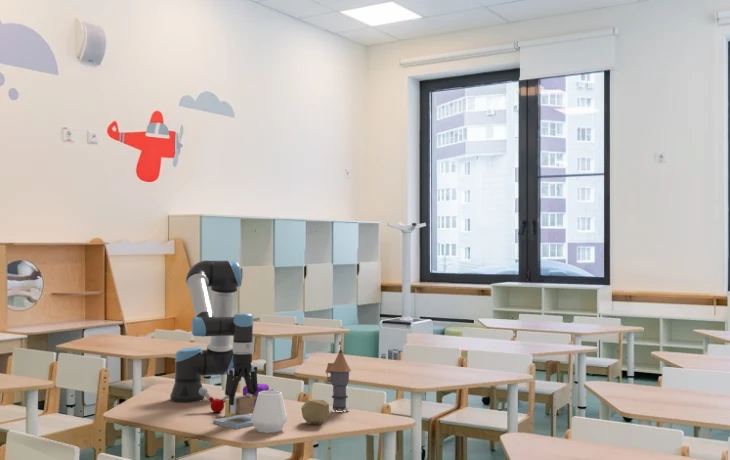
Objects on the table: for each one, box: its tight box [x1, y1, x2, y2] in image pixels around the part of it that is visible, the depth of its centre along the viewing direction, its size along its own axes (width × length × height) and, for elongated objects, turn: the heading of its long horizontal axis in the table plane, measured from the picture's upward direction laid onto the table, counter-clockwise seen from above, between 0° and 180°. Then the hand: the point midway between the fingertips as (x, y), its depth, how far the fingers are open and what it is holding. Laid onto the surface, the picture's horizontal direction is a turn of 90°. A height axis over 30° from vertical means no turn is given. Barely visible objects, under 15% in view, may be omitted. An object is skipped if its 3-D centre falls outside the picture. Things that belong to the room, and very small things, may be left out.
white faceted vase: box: [251, 390, 288, 434], centre depth 265 cm, size 13×13×14 cm
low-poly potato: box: [300, 398, 330, 425], centre depth 277 cm, size 15×11×12 cm
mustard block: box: [224, 399, 237, 418], centre depth 287 cm, size 5×5×7 cm
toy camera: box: [242, 383, 275, 407], centre depth 307 cm, size 11×14×10 cm
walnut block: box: [229, 394, 254, 415], centre depth 276 cm, size 7×7×6 cm
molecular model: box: [199, 386, 237, 413], centre depth 294 cm, size 18×6×10 cm, turn 67°
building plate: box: [212, 414, 254, 430], centre depth 276 cm, size 14×16×1 cm
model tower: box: [325, 341, 352, 411], centre depth 302 cm, size 10×11×30 cm
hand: (241, 411), depth 276 cm, fingers closed on walnut block, 7 cm apart
